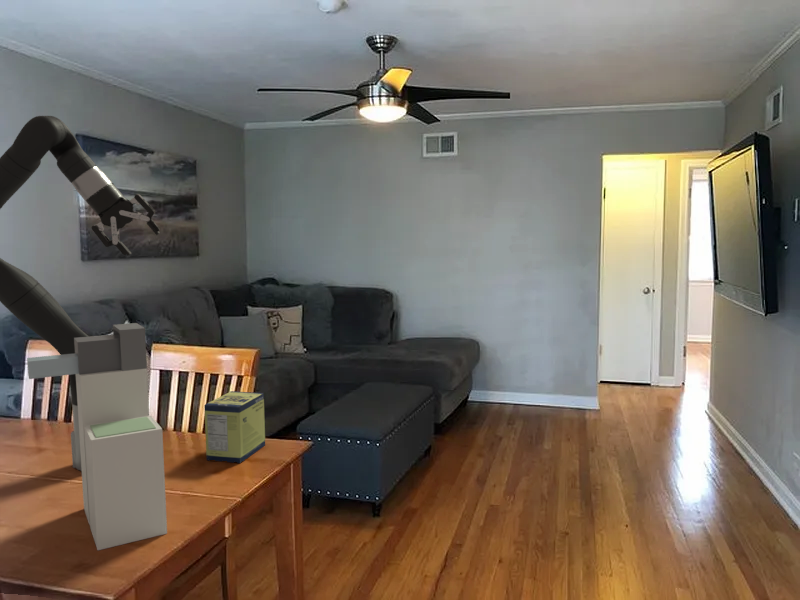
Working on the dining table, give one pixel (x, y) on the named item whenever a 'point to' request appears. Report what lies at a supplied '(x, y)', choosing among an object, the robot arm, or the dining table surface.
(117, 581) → the dining table surface
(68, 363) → the plug
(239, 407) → the protein box
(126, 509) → the grey stepped fixture
